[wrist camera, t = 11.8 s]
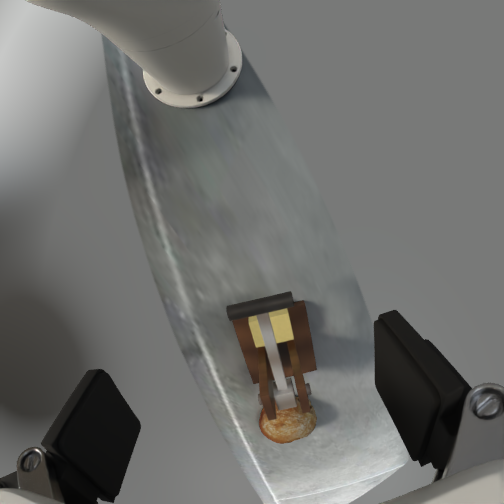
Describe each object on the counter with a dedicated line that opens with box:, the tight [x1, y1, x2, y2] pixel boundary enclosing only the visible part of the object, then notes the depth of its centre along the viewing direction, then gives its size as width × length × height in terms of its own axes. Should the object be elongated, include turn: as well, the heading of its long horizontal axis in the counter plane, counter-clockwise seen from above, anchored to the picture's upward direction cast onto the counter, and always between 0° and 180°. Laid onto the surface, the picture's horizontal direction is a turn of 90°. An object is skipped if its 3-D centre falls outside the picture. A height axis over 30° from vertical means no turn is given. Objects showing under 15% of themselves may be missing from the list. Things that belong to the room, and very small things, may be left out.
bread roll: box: [259, 397, 317, 444], centre depth 43 cm, size 10×10×8 cm
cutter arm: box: [227, 291, 297, 410], centre depth 28 cm, size 15×6×2 cm, turn 14°
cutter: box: [232, 300, 317, 420], centre depth 35 cm, size 12×10×13 cm
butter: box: [249, 308, 294, 348], centre depth 37 cm, size 4×5×3 cm
